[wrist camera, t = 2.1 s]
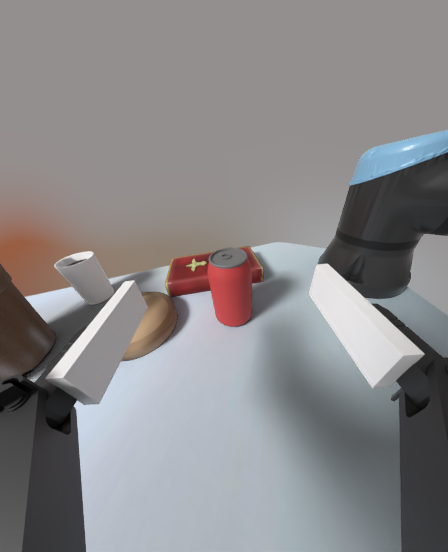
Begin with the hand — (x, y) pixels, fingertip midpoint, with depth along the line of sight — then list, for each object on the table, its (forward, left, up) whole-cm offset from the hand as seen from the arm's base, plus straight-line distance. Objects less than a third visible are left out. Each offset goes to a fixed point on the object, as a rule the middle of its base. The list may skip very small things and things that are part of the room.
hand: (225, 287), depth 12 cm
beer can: (0, -11, -15) cm, 19 cm away
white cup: (+31, -20, -15) cm, 40 cm away
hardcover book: (+4, -24, -16) cm, 29 cm away
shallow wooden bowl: (+17, -10, -15) cm, 25 cm away
